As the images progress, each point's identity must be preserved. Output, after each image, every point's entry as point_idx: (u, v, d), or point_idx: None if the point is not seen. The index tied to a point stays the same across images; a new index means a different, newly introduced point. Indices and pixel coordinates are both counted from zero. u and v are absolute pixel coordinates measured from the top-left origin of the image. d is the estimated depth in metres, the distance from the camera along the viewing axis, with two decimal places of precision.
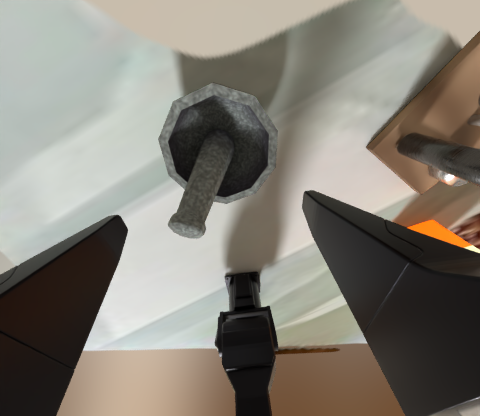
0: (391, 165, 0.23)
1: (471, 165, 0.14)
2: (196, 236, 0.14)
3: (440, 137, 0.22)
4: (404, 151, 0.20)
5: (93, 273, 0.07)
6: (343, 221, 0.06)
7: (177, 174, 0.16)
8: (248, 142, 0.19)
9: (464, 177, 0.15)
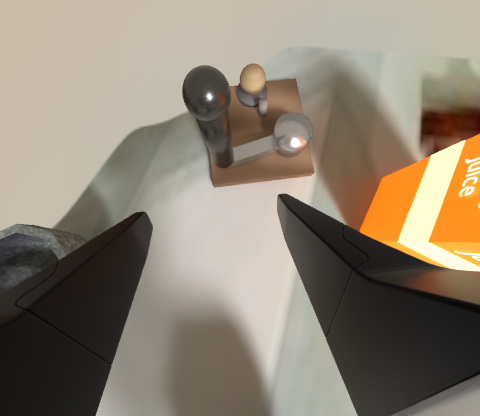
0: (245, 179, 0.22)
1: None
2: None
3: (256, 136, 0.22)
4: (217, 163, 0.19)
5: (126, 269, 0.07)
6: (305, 226, 0.06)
7: None
8: None
9: (209, 131, 0.13)
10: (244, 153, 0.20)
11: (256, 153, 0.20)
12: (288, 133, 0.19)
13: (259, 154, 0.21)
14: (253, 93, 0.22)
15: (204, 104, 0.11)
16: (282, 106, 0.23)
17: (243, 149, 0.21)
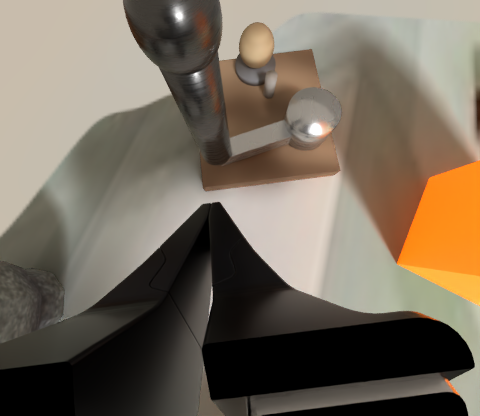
0: (247, 180, 0.16)
1: (167, 84, 0.08)
2: None
3: (261, 123, 0.17)
4: (208, 158, 0.14)
5: (207, 259, 0.07)
6: None
7: None
8: None
9: (187, 98, 0.08)
10: (245, 145, 0.15)
11: (261, 144, 0.15)
12: (307, 116, 0.14)
13: (266, 146, 0.15)
14: (257, 65, 0.16)
15: (164, 23, 0.05)
16: (295, 84, 0.18)
17: (244, 139, 0.15)
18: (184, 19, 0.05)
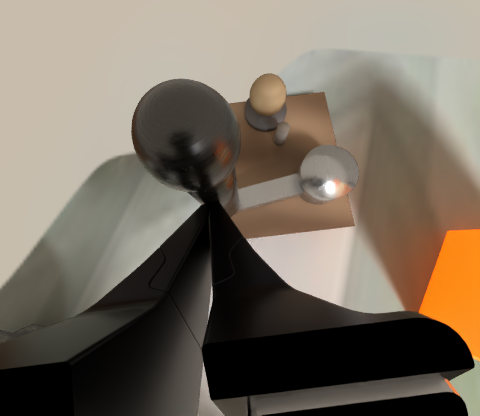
0: (257, 235, 0.15)
1: None
2: None
3: (271, 173, 0.16)
4: None
5: (207, 259, 0.07)
6: None
7: None
8: None
9: (196, 196, 0.07)
10: (254, 198, 0.14)
11: (271, 199, 0.14)
12: (322, 176, 0.13)
13: (276, 200, 0.14)
14: (268, 114, 0.15)
15: (176, 171, 0.04)
16: (307, 130, 0.17)
17: (253, 192, 0.14)
18: (199, 167, 0.04)
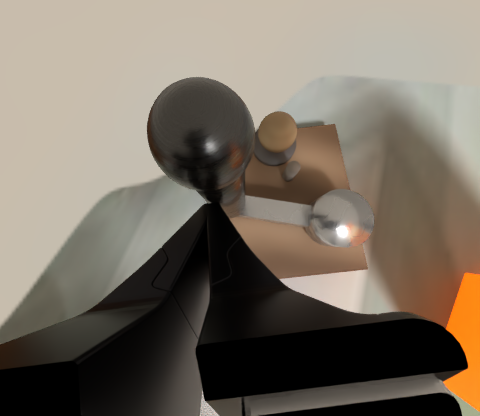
0: None
1: None
2: None
3: None
4: None
5: None
6: None
7: None
8: None
9: (195, 189, 0.07)
10: (260, 211, 0.14)
11: (275, 219, 0.14)
12: (333, 219, 0.12)
13: (280, 222, 0.14)
14: (277, 152, 0.15)
15: (171, 165, 0.04)
16: (317, 165, 0.16)
17: (261, 205, 0.14)
18: (193, 170, 0.04)
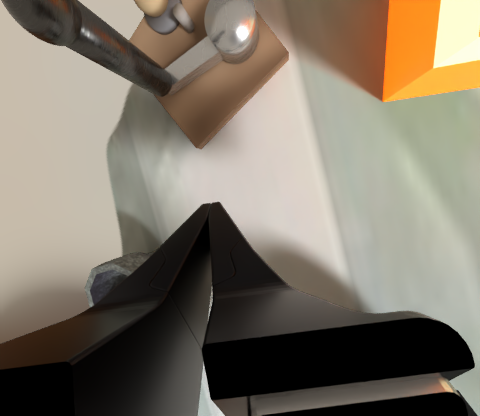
0: (221, 119, 0.19)
1: None
2: None
3: None
4: (151, 92, 0.17)
5: (207, 259, 0.07)
6: None
7: None
8: None
9: (88, 56, 0.11)
10: (181, 71, 0.17)
11: (194, 67, 0.17)
12: (222, 26, 0.14)
13: (199, 67, 0.17)
14: (162, 9, 0.16)
15: (32, 24, 0.09)
16: None
17: (179, 65, 0.17)
18: (39, 17, 0.09)
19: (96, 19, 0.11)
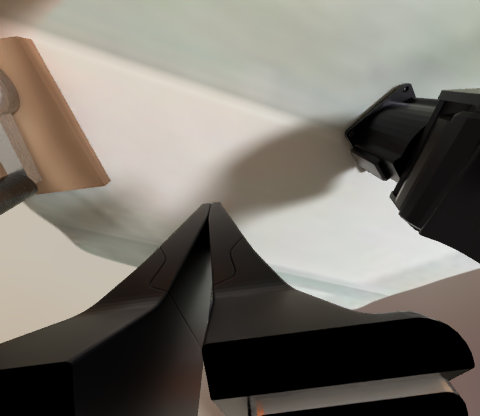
0: (82, 150, 0.18)
1: None
2: None
3: None
4: (27, 197, 0.17)
5: (207, 259, 0.07)
6: None
7: None
8: None
9: None
10: (13, 160, 0.16)
11: (11, 147, 0.16)
12: None
13: (13, 142, 0.16)
14: None
15: None
16: None
17: (6, 159, 0.16)
18: None
19: None
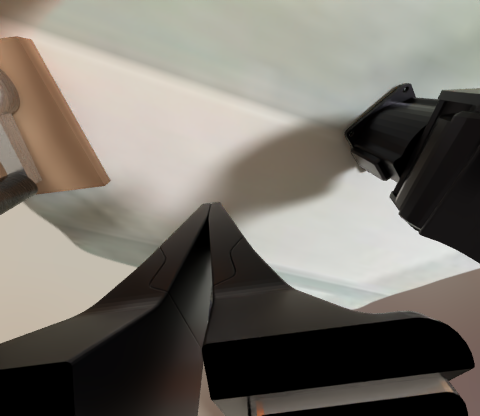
0: (82, 150, 0.18)
1: None
2: None
3: None
4: (27, 197, 0.17)
5: (207, 259, 0.07)
6: None
7: None
8: None
9: None
10: (13, 160, 0.16)
11: (11, 147, 0.16)
12: None
13: (13, 142, 0.16)
14: None
15: None
16: None
17: (6, 159, 0.16)
18: None
19: None
